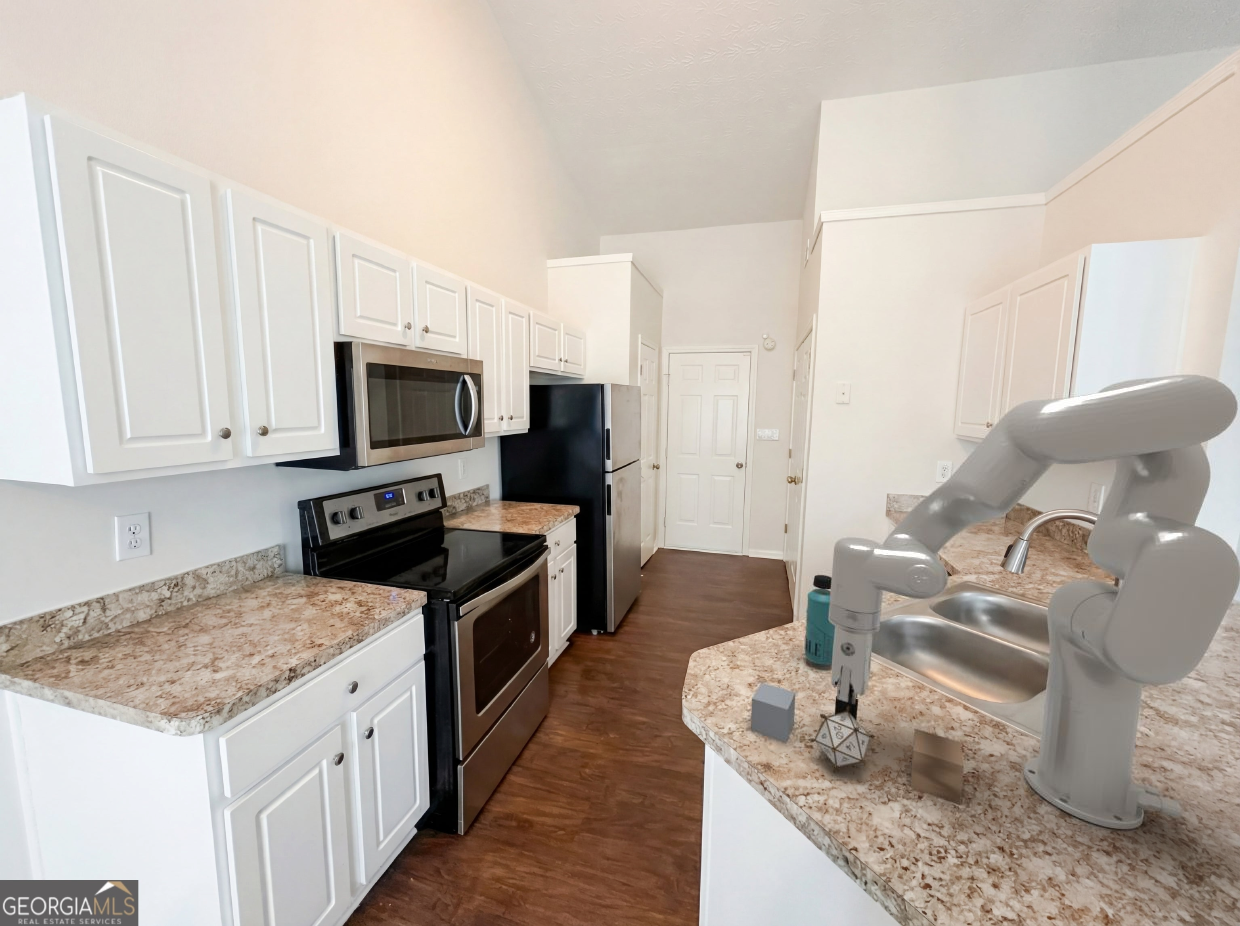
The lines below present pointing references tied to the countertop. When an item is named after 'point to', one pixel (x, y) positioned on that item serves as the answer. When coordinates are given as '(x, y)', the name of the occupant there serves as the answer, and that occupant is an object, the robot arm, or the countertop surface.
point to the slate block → (773, 712)
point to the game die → (842, 739)
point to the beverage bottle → (819, 623)
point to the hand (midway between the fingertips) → (845, 720)
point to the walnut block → (937, 766)
